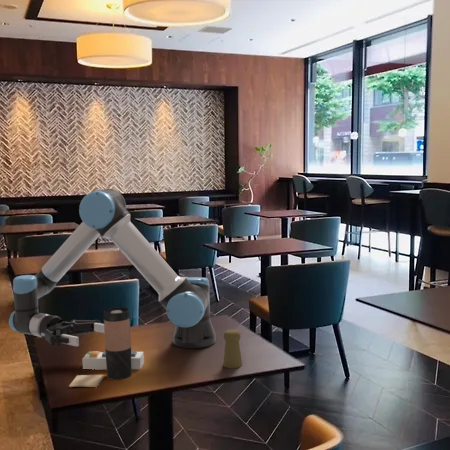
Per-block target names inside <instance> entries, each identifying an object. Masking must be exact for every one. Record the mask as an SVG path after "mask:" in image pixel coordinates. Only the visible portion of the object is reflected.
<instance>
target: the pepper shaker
mask: <svg viewBox="0 0 450 450" xmlns="http://www.w3.org/2000/svg"><path fill="white" fill-rule="evenodd" d="M223 338H224V341H225V345H224V353H223V355H224V356H223V362H222V363H223V364H222V365H223V367H224V368H228V369H237V368H240V367H242V366H243V360H242V359H243V358H242V353H241V347H240V346H241V345H240V342H239V341H240V340H241V333H240V331H239V330H237V329H228V330H225V331H224V333H223Z"/></svg>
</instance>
